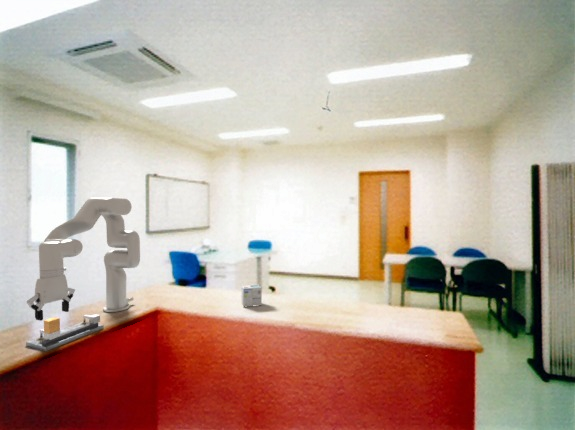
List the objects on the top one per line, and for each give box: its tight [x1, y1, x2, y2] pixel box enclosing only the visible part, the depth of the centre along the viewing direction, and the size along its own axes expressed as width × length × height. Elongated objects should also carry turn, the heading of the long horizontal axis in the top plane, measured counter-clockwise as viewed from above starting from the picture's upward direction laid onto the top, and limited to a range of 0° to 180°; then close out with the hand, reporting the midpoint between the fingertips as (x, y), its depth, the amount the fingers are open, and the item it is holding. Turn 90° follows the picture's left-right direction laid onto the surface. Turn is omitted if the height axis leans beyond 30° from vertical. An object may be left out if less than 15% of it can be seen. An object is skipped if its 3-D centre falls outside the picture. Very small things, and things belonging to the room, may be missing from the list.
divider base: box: [25, 314, 104, 352], centre depth 131 cm, size 24×12×6 cm, turn 159°
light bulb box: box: [241, 284, 263, 307], centre depth 176 cm, size 11×7×11 cm, turn 108°
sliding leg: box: [39, 316, 61, 340], centre depth 123 cm, size 4×9×8 cm, turn 69°
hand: (52, 315), depth 123 cm, fingers open, 9 cm apart
